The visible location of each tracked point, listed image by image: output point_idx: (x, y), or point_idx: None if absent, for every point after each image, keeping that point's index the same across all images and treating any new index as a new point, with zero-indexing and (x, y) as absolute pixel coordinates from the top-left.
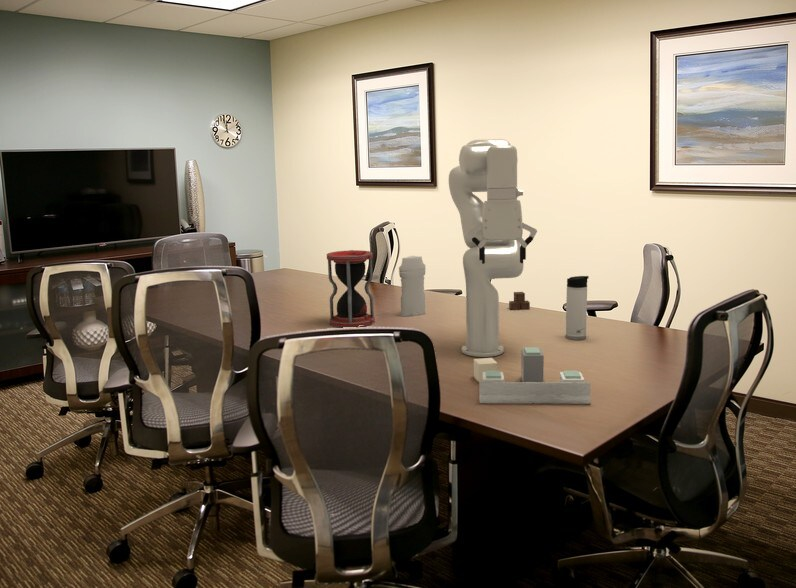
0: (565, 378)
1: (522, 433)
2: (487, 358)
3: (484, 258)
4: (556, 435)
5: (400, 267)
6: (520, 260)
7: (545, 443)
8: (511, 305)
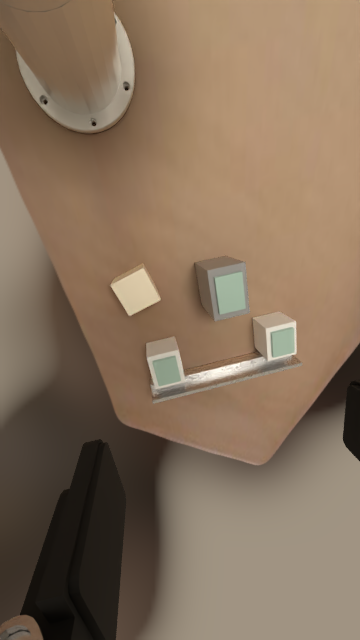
0: (271, 355)
1: (212, 446)
2: (136, 275)
3: (121, 535)
4: (243, 441)
5: None
6: (355, 455)
7: (233, 458)
8: None
